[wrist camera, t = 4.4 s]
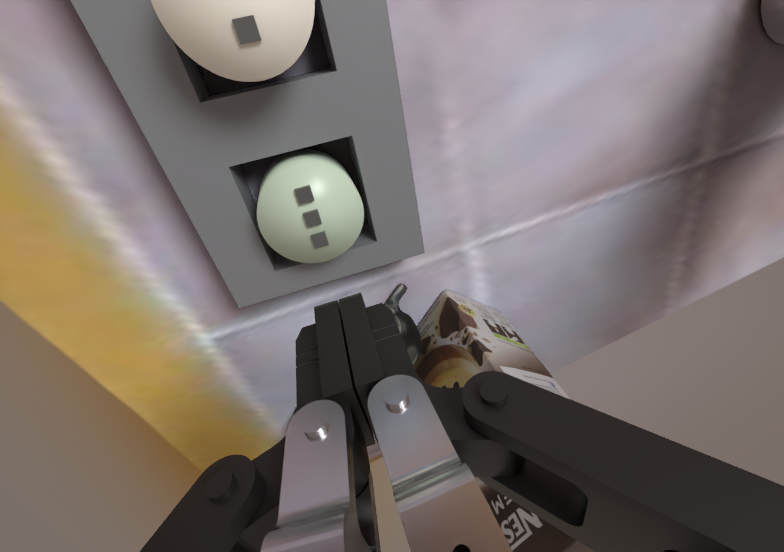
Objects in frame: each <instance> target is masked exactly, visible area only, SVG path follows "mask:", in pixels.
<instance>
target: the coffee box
mask: <svg viewBox="0 0 784 552" xmlns="http://www.w3.org/2000/svg"><path fill="white" fill-rule="evenodd" d="M417 329H418V330H419V332H420V335H421V352H420V355H419V357H418V359H417V361H416V362H415V364H414V365H413V367H414V369H415V372H416V374H417V375H418V376H419V378H421V379H422V380H423V381H424V382H426V383H427V384H430V385H432V386H435V387H441V388H458V387H464V385H465V383H466V382H467V381H468V380H469V379H470V378H471V377H472V376H474V375H476V374H478V373H481V372H485V371H499V372H503V373H506V374H509V375H511V376H514V377H516V378H519V379H521V380H523V381H526V382H528V383H531V384H533V385H536V386H538V387H541V388H543V389H546V390H548V391H551V392H553V393H556V394H558V395H560V396H563V397H565V398H568V399H570V398H569V397H568V396H567V394H566V393H565V392H564V391H563V389H562V388H561V387H560V386H559V384H558V383H557V382H556V381H555V379H553V377H552V376H551V375H550V373H549V372H548V371H547V369H546V368H545V367H544V365H543V364H542V363H541V362H540V361H539V359H538V358H537V357H536V356H535V354H534V353H533V352H532V351H531V349H530V348H529V347H528V345H527V344H526V343H525V342H524V341H523V340H522V338H521V337H520V336H519V334H518V333H517V332H516V331H515V329H514V328H513V327H512V326H511V324H510V323H509V322H508V321H507V319H506V318H505V317H504V316H503V315H502V313H501V312H498V311H496V310H494V309H492V308H489V307H487V306H484V305H482V304H480V303H477V302H475V301H473V300H470V299H468V298H466V297H463V296H461V295H458V294H456V293H454V292H451V291H448V290H446V291H443V292H442V294H441V295H440V296H439V298H438V299H437V300H436V302H435V303H434V305H433V306H432V308H431V309H430V310H429V312H428V313H427V315H426V316H425V317H424V319H423V320H422V321H421V323H420V324H419V326H418V327H417ZM474 478H475V479H476V481H477V483H478V485H479V487H480V489H481V491H482V493H483V495H484V497H485V499H486V501H487V503H488V505H489V507H490V509H491V511H492V513H493V514H494V516H495V518H496V520H497V522H498V524H499V526H500V528H501V530H502V532H503V534H504V536H505V538H506V540H507V542H508V544H509V546H510V548H511V549H512V551H513V552H595V551H593V550H592V549H590V548H588V547H587V546H585V545H584V544H582V543H580V542H579V541H577V540H575V539H574V538H572V537H571V536H569V535H567V534H566V533H564V532H562V531H561V530H559V529H558V528H556V527H554V526H553V525H551V524H550V523H548V522H546V521H545V520H543V519H541V518H540V517H538V516H537V515H535V514H533V513H532V512H530V511H528V510H527V509H525V508H524V507H522V506H520V505H519V504H517V503H516V502H514V501H512V500H511V499H509V498H507V497H506V496H504V495H503V494H501V493H499V492H498V491H496V490H494V489H493V488H491V487H490V486H488V485H486V484H485V483H484V482H482V481H481V480H480V479H479V478H478V477H474Z"/></svg>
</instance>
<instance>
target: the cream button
mask: <svg viewBox="0 0 784 552" xmlns="http://www.w3.org/2000/svg"><path fill="white" fill-rule="evenodd" d="M151 3H152V5H153V8H154V10H155V12H156V14H157V16H158V18H159V20H160V22H161V23H162V25H163V26H164V28H165V30H166V31H167V33H168V34H169V35H170V37H171V38H172V39H173V40H174V42H175V43H176V44H177V45H178V46H179V47H180V48H181V49H182V50H183V52H184V53H185V54H187V55H188V56H189V57H190V58H191V59H192V60H194V61H195V62H196V63H198V64H199V65H201V66H202V67H204V68H205V69H207V70H209V71H211V72H213V73H214V74H217V75H219V76H222V77H224V78H228V79H232V80H236V81H243V82H256V81H263V80H267V79H270V78H273V77H275V76H277V75H279V74H281V73H283V72H284V71H286V70H287V69H288V68H290V67H291V66H292V65H293V64H294V63H295V62H296V61H297V59H298V58H299V57H300V55H301V54H302V52H303V51H304V49H305V47H306V45H307V43H308V40H309V38H310V35H311V31H312V27H313V21H314V14H315V0H151Z"/></svg>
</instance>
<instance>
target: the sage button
mask: <svg viewBox="0 0 784 552" xmlns="http://www.w3.org/2000/svg"><path fill="white" fill-rule="evenodd" d="M363 221H364V208H363V203H362V200H361V197H360V195H359V193H358V191H357V189H356V187H355V185H354V183H353V181H352V180H351V178H350V176H349V174H348V172H347V171H346V169H345V168H344V167H343V166H342V165H341V163H339V162H338V161H337V160H336V159H335V158H333V157H332V156H330V155H328V154H326V153H323V152H321V151H317V150H312V149H299V150H294V151H290V152H287V153H285V154H283V155H281V156H280V157H278V158H277V159H275V160H274V161H273V162H272V163H271V164H270V166H269V167H268V168H267V170H266V171H265V173H264V175H263V178H262V180H261V184H260V191H259V198H258V204H257V222H258V226H259V229H260V232H261V234H262V236H263V238H264V239H265V240H266V242H267V243H268V244H269V245H270V247H271V248H272V249H274V250H275V251H276V252H277V253H279V254H280V255H282V256H284V257H286V258H288V259H290V260H293V261H297V262H301V263H321V262H325V261H329V260H331V259H334V258H336V257H338V256H340V255H341V254H343V253H344V252H345V251H347V250H348V249H349V248H350V247H351V246H352V245H353V244H354V242H355V241H356V240H357V238H358V236H359V234H360V232H361V229H362V226H363Z"/></svg>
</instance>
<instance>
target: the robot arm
mask: <svg viewBox="0 0 784 552" xmlns="http://www.w3.org/2000/svg"><path fill="white" fill-rule="evenodd" d="M761 15H762V21H763V26H764V28H765V30H766V32H767V34H768V36H769V37H770V38H771V39H772V40H774V41H775V42H776V43H779V44H782V45H784V0H761ZM339 304H340V305H339ZM314 312H315V323H316V324H313V325H310V326H306V327H303V328H302V329H301V331H300V333H299V336H298V338H297V340H296V356H297V357H296V366H297V368H296V385H297V413H296V414H295V415H294V416H293V417H292V419H291V420H290V422H289V424H288V427H287V431H286V436H285V437H284V438H283V439H282V440H281V441H280V442H279V443H277V444H276V445H275V446H273V447H272V448H270V449H269V450H267V451H266V452H264V453H263V454H261V455H260V456H258V457H257V458H255V459H254V460H252V461H251V460H250V459H249V458H247V457H246V456H243V455H230V456H227V457H224V458H222V459H220V460H218V461H217V462H215V463H214V464H212V465H211V466H210V467H208V468H207V469H206V470H205V471H204V472H203V473H202V475H201V476H200V477H199V478H198V479H197V481H196V482H195V483H194V485H193V486H192V487H191V488H190V490H189V491H188V492H187V493H186V494H185V496H184V497H183V498H182V500H181V501H180V502H179V503H178V505H177V506H176V507H175V508H174V509H173V511H172V512H171V513H170V515H169V516H168V517H167V518H166V520H165V521H164V522H163V523H162V525H161V526H160V527H159V528H158V530H157V531H156V532H155V533H154V535H153V536H152V537H151V538H150V540H149V541H148V542H147V543H146V545H145V546H144V547H143V548H142V550H141V551H140V552H381V551H380V542H379V532H378V524H377V515H376V507H375V498H374V488H373V480H372V475H371V471H370V464H369V458H368V453H367V448H366V447H367V446H370V445H373V444H375V441H374V436H373V433H374V435H375V438H376V440H377V443H378V442H379V445H380V449H381V452H382V455H383V458H384V461H385V464H386V468H387V471H388V474H389V477H390V481H391V484H392V487H393V491H394V492H393V493H394V498H395V501H396V505H397V508H398V511H399V515H400V518H401V521H402V524H403V528H404V531H405V534H406V537H407V541H408V544H409V547H410V550H411V552H513V551H512V549H511V548H510V546H509V544H508V542H507V540H506V538H505V536H504V534H503V532H502V530H501V528H500V526H499V524H498V522H497V520H496V518H495V516H494V514H493V513H492V511H491V509H490V507H489V505H488V503H487V501H486V499H485V497H484V495H483V493H482V491H481V489H480V487H479V485H478V483H477V481H476V479H475V478H474V477H478V478H479V479H480V480H481V481H482V482H484V483H485V484H486V485H488V486H490V487H491V488H493V489H494V490H496V491H498V492H499V493H501V494H503V495H504V496H506V497H507V498H509V499H511V500H512V501H514V502H516V503H517V504H519V505H520V506H522V507H524V508H525V509H527V510H528V511H530V512H532V513H533V514H535V515H537V516H538V517H540V518H541V519H543V520H545V521H546V522H548V523H550V524H551V525H553V526H554V527H556V528H558V529H559V530H561V531H562V532H564V533H566V534H567V535H569V536H571V537H572V538H574V539H575V540H577V541H579V542H580V543H582V544H584V545H585V546H587V547H588V548H590V549H592V550H593V551H595V552H784V486H782V485H780V484H777V483H775V482H772V481H770V480H767V479H765V478H762V477H760V476H758V475H755V474H752V473H750V472H748V471H745V470H743V469H740V468H738V467H735V466H733V465H731V464H728V463H726V462H723V461H721V460H718V459H716V458H713V457H711V456H708V455H706V454H703V453H701V452H698V451H696V450H693V449H691V448H689V447H686V446H683V445H681V444H679V443H676V442H674V441H671V440H669V439H666V438H664V437H661V436H659V435H657V434H654V433H652V432H649V431H647V430H644V429H642V428H639V427H637V426H634V425H632V424H629V423H627V422H625V421H622V420H619V419H617V418H615V417H612V416H610V415H607V414H605V413H602V412H600V411H597V410H595V409H592V408H590V407H588V406H585V405H582V404H580V403H578V402H575V401H573V400H570V399H568V398H565V397H563V396H560V395H558V394H556V393H553V392H551V391H548V390H546V389H543V388H541V387H538V386H536V385H533V384H531V383H528V382H526V381H523V380H521V379H519V378H516V377H514V376H511V375H509V374H506V373H503V372H499V371H485V372H481V373H478V374H476V375H474V376H472V377H471V378H470V379H469V380H468V381H467V382H466V383H465V385H464V387H458V388H441V387H435V386H432V385H430V384H427V383H426V382H424V381H423V380H422V379H421V378H419V376H418V375H417V374H416V372H415V369H414V367H413V364H412V362H411V359H410V356H409V354H408V351H407V349H406V346H405V343H404V341H403V338H402V336H401V333H400V331H399V328H398V325H397V323H396V320H395V318H394V315H393V312H392V311H391V310H390V309H389V308H387V307H386V306H385V305H384V304H382V303H380V304H377V305H374V306H370V307H367V308H366V307H365V304H364V301H363V297H362V294H361V293H358V294H355V295H352V296H348V297H345V298H342V299H339V303H338V301H337V300H336V301H332V302H329V303H326V304H323V305H319V306H316V307H314ZM372 430H373V431H372Z"/></svg>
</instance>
